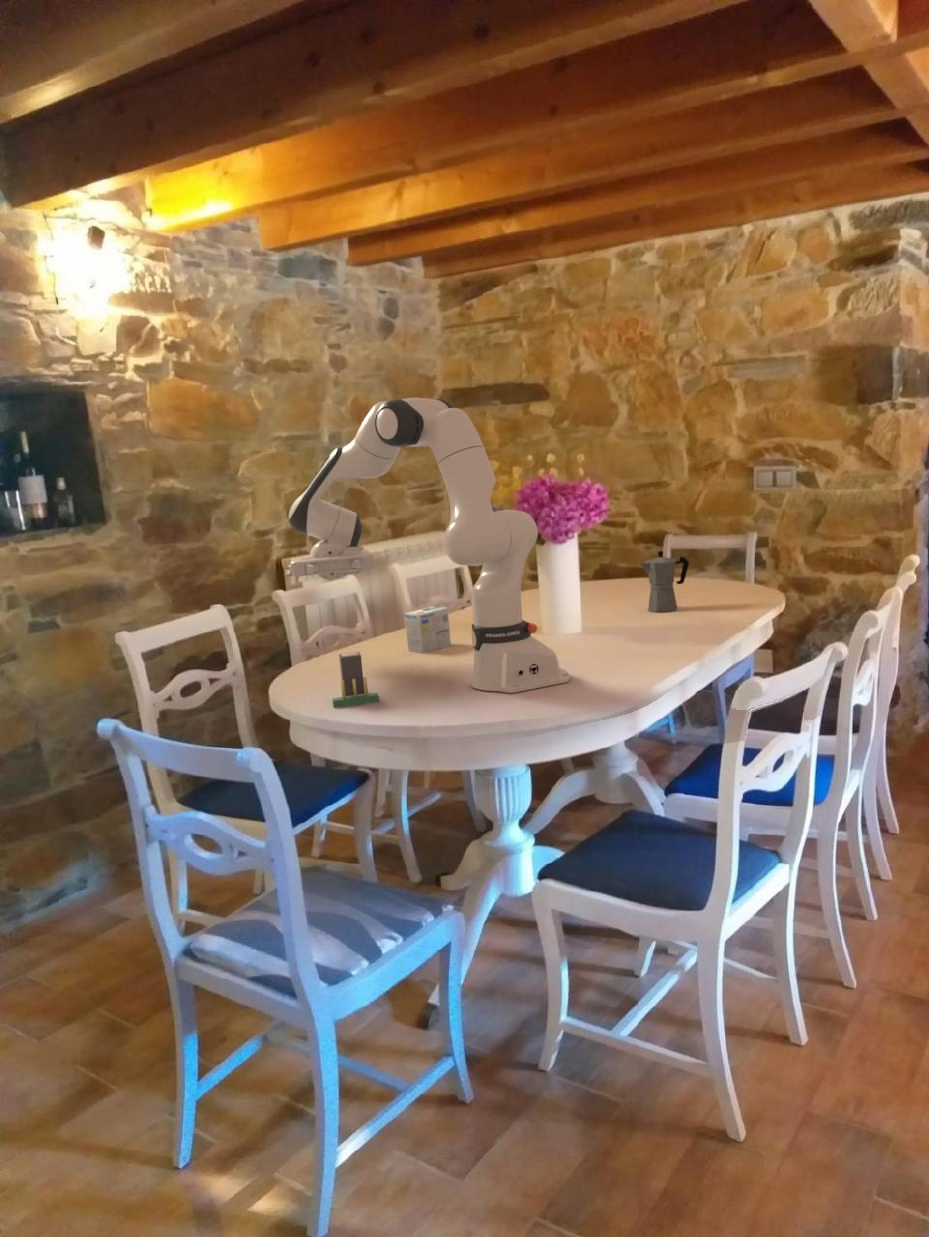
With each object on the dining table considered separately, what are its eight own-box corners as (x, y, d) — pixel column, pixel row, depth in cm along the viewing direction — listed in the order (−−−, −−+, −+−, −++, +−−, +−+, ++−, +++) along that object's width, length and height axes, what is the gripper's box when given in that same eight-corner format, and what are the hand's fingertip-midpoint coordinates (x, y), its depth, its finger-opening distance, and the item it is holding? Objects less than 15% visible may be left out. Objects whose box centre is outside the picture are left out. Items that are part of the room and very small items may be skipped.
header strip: (377, 699, 208) (375, 675, 207) (379, 701, 206) (376, 677, 205) (333, 705, 206) (330, 681, 205) (333, 707, 204) (331, 683, 203)
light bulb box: (435, 643, 262) (432, 605, 260) (452, 645, 257) (449, 607, 255) (406, 651, 254) (403, 612, 252) (423, 653, 250) (419, 614, 247)
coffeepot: (647, 614, 278) (645, 554, 275) (636, 609, 287) (634, 551, 284) (696, 609, 281) (694, 549, 277) (683, 604, 290) (682, 546, 286)
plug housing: (363, 694, 212) (358, 650, 210) (365, 699, 208) (360, 654, 206) (343, 697, 211) (338, 653, 209) (345, 701, 207) (340, 657, 205)
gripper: (286, 553, 230) (288, 559, 216) (368, 545, 234) (376, 550, 221) (289, 578, 231) (291, 586, 218) (371, 570, 235) (378, 576, 222)
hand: (335, 568), depth 219 cm, fingers open, 8 cm apart
